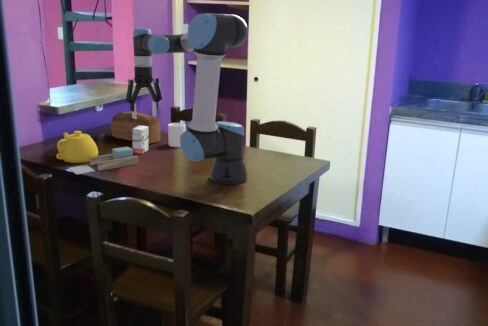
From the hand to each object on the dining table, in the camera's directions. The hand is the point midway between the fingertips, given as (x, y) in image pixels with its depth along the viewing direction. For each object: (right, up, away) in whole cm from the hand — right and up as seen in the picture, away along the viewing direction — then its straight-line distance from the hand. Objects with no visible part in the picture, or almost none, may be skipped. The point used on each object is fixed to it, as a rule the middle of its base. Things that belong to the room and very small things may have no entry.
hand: (144, 117), depth 218 cm
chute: (-12, -21, -3) cm, 25 cm away
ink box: (-5, -15, +18) cm, 24 cm away
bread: (-12, -8, +39) cm, 42 cm away
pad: (-24, -23, -12) cm, 35 cm away
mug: (+11, -11, +32) cm, 36 cm away
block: (-9, -20, -1) cm, 22 cm away
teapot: (-32, -18, +4) cm, 37 cm away
